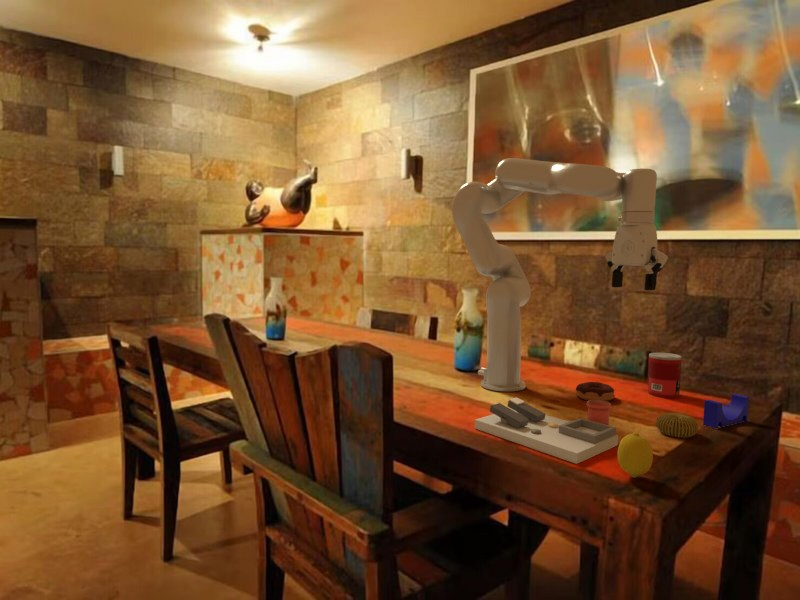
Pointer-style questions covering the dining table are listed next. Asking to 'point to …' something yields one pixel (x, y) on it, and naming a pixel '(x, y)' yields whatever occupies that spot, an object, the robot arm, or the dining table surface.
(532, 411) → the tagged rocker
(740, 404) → the blue pipe cradle
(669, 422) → the sculpture
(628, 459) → the lemon
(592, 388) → the donut
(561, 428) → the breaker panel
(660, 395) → the canned food
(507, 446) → the dining table surface
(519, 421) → the plain rocker
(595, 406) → the cap
